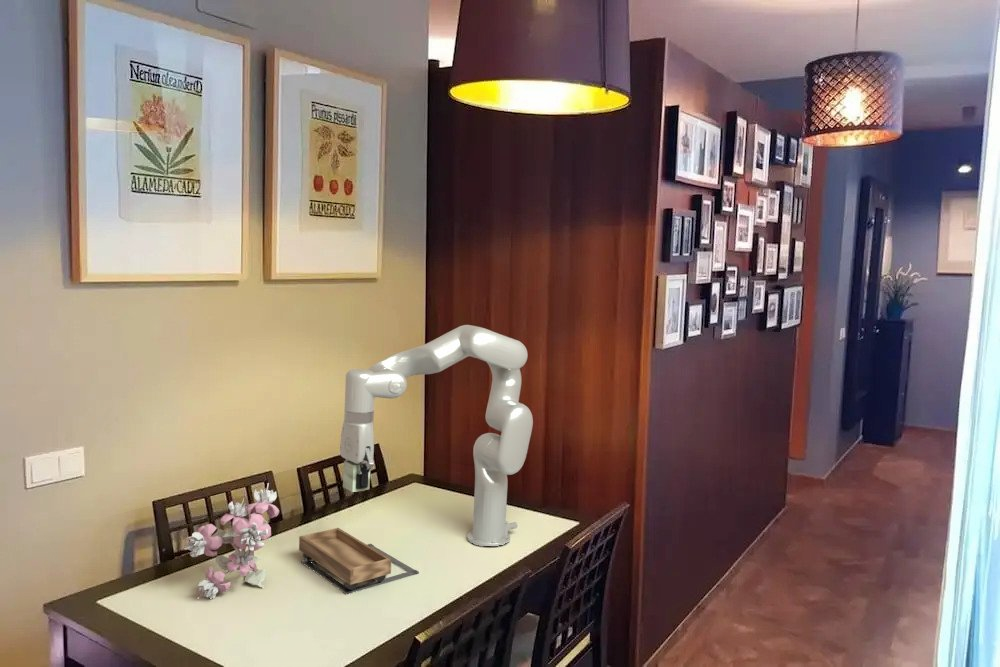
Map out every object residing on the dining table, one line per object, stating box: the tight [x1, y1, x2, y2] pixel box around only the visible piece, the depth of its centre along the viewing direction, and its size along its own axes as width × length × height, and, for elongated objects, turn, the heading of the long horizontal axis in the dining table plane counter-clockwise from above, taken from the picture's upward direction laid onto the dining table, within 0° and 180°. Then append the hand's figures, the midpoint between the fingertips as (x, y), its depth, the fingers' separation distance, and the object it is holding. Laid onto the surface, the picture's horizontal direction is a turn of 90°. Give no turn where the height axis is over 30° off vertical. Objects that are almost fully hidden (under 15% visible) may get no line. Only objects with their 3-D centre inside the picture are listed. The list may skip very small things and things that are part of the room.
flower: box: [182, 482, 280, 600], centre depth 188 cm, size 20×22×25 cm
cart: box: [298, 527, 392, 590], centre depth 200 cm, size 12×27×6 cm, turn 41°
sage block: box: [342, 459, 371, 493], centre depth 202 cm, size 5×5×7 cm
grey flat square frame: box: [300, 543, 420, 595], centre depth 203 cm, size 22×24×1 cm
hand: (356, 484), depth 203 cm, fingers closed on sage block, 5 cm apart
